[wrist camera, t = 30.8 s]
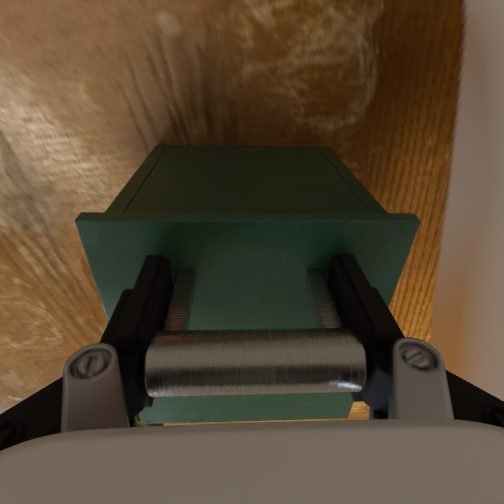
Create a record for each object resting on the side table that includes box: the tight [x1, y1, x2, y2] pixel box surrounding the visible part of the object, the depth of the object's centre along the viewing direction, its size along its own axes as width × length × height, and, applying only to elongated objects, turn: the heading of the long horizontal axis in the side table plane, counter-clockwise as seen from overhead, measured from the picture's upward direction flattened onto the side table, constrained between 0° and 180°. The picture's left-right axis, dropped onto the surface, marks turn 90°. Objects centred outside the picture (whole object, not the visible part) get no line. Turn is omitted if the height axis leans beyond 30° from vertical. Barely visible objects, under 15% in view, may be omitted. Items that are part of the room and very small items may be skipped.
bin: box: [105, 145, 387, 213], centre depth 21 cm, size 13×12×12 cm
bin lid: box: [75, 212, 420, 424], centre depth 13 cm, size 14×12×5 cm
